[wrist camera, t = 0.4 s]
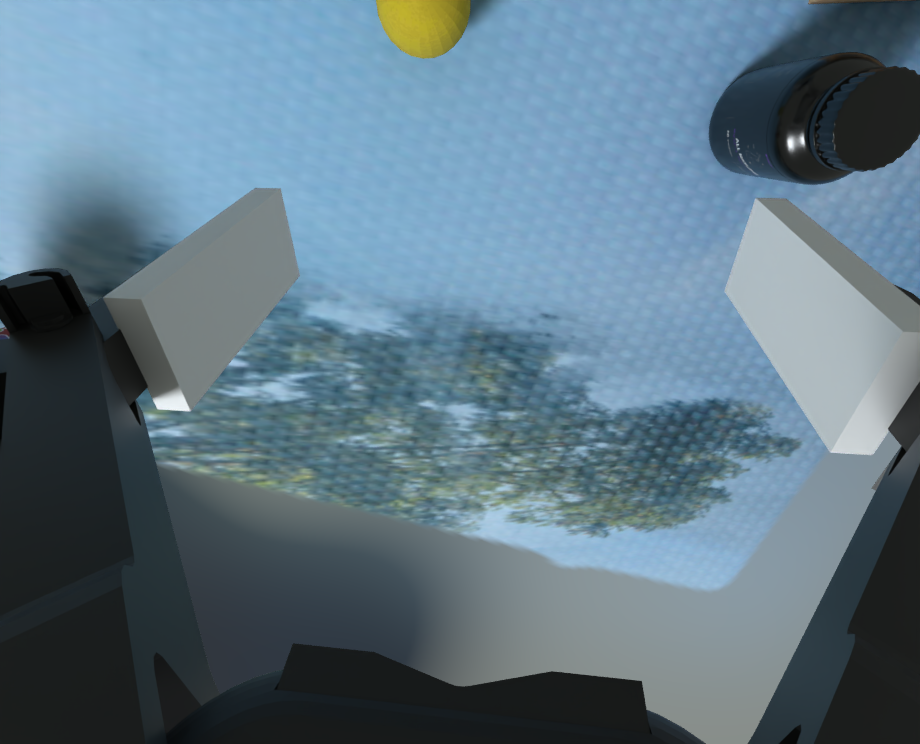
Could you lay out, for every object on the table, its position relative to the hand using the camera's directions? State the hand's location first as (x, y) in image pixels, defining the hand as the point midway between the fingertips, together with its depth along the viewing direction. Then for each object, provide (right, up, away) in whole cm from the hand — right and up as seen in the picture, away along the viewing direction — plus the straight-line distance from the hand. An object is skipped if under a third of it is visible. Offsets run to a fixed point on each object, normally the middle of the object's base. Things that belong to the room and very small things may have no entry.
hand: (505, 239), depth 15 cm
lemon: (-3, +20, +19) cm, 28 cm away
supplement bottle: (+20, +14, +22) cm, 33 cm away
